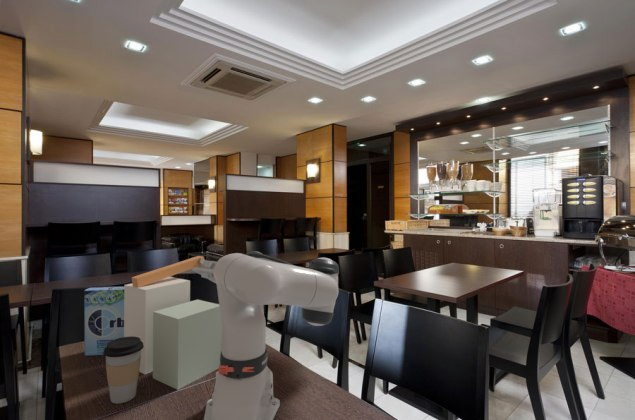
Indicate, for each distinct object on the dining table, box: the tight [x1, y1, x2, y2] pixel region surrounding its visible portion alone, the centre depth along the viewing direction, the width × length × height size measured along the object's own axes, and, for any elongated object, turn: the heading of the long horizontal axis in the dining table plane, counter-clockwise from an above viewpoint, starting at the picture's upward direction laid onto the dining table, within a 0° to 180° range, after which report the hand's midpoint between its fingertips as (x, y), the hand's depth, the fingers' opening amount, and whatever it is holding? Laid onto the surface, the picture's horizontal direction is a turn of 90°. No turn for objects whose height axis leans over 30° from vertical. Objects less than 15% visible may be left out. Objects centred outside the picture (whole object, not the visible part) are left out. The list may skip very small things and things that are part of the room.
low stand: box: [152, 299, 222, 391], centre depth 103 cm, size 16×12×20 cm
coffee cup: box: [103, 336, 144, 405], centre depth 89 cm, size 9×9×15 cm
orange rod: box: [131, 255, 205, 288], centre depth 116 cm, size 26×3×3 cm, turn 148°
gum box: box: [83, 286, 124, 356], centre depth 117 cm, size 20×5×23 cm, turn 98°
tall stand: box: [124, 276, 191, 375], centre depth 111 cm, size 16×12×26 cm
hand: (195, 259), depth 124 cm, fingers closed on orange rod, 3 cm apart
